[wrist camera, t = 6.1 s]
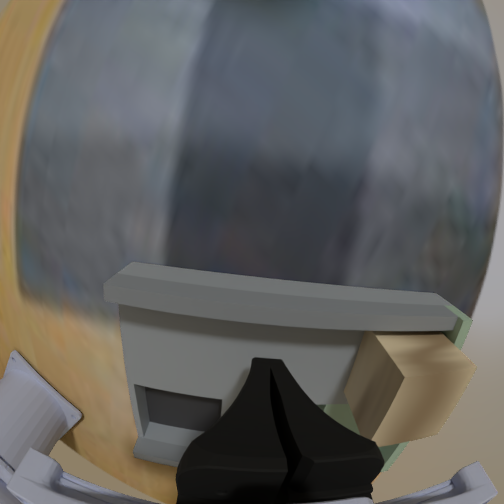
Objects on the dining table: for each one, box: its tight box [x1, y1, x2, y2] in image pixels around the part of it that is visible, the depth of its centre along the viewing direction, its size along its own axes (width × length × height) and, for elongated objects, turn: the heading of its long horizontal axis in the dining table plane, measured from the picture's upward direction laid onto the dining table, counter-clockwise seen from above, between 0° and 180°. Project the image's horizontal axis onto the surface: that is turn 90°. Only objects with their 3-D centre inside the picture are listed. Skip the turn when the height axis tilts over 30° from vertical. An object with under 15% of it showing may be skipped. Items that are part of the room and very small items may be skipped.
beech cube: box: [344, 331, 477, 447], centre depth 12 cm, size 4×4×4 cm
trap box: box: [103, 262, 473, 472], centre depth 14 cm, size 18×13×4 cm
